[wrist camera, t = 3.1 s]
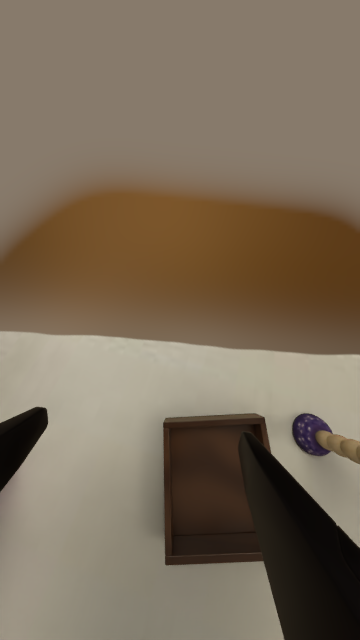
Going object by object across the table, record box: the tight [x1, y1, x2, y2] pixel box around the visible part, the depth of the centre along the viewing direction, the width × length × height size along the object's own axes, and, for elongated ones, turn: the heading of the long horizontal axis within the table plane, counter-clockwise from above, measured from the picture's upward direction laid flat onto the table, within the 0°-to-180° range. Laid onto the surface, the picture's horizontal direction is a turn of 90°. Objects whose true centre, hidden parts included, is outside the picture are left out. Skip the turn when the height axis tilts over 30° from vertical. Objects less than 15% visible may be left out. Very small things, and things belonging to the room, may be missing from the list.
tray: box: [163, 414, 271, 565], centre depth 18 cm, size 11×11×3 cm
